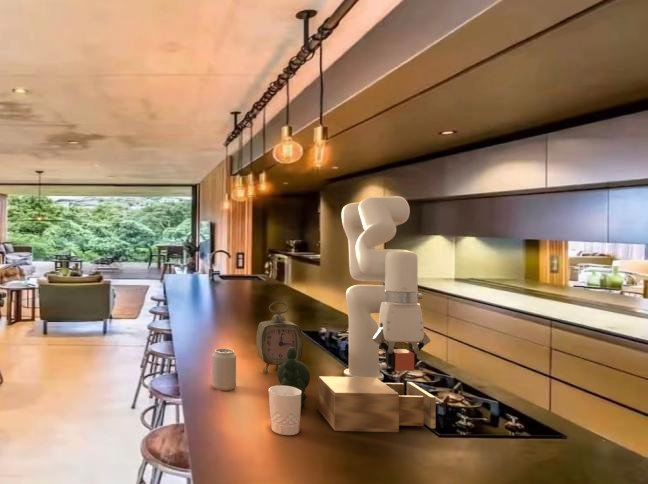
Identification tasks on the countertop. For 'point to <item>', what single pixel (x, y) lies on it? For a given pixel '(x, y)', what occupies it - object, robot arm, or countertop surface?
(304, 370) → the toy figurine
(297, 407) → the white cup
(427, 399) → the drawer
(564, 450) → the countertop surface
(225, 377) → the can
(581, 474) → the countertop surface
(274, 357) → the tabletop clock
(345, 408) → the cabinet
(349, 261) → the robot arm
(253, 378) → the countertop surface
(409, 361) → the block
